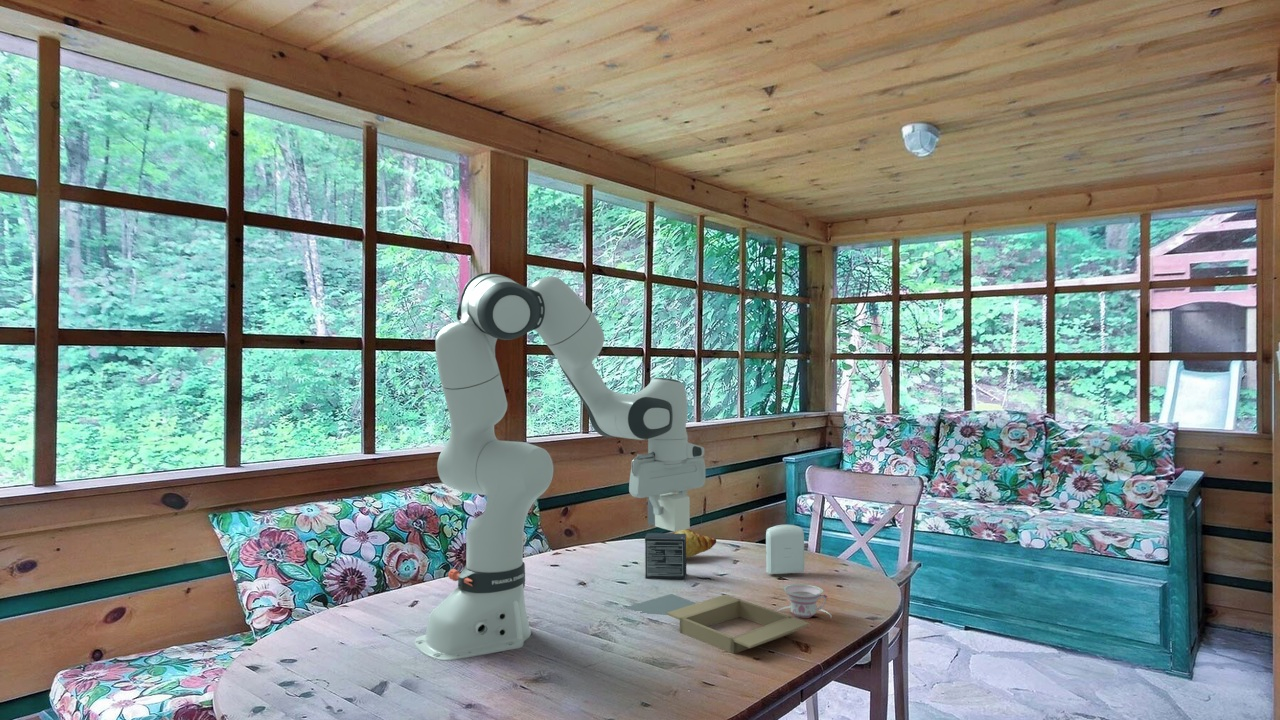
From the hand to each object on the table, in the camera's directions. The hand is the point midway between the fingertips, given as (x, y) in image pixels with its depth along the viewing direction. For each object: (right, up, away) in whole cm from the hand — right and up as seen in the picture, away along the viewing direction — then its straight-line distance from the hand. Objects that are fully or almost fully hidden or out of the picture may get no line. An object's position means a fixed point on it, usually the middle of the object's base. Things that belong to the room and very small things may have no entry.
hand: (668, 512), depth 161 cm
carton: (+13, -22, -16) cm, 30 cm away
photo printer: (+32, -22, +29) cm, 48 cm away
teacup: (+29, -22, -4) cm, 37 cm away
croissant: (+5, -22, +47) cm, 52 cm away
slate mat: (0, -22, 0) cm, 22 cm away
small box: (0, -22, +26) cm, 34 cm away
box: (0, -3, 0) cm, 3 cm away
